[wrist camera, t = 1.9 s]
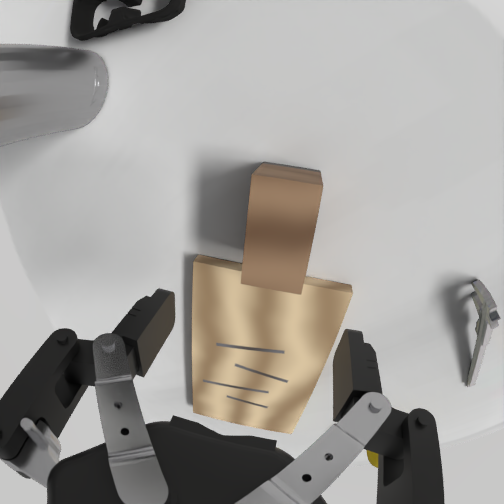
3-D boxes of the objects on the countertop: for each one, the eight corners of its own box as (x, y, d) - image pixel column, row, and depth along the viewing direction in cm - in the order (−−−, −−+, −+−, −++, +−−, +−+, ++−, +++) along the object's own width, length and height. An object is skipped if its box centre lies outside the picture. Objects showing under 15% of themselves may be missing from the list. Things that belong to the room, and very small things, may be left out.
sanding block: (303, 260, 29) (301, 294, 24) (253, 252, 30) (240, 283, 25) (320, 170, 25) (323, 185, 20) (263, 161, 26) (251, 174, 20)
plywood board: (195, 405, 44) (193, 412, 42) (198, 254, 31) (193, 261, 30) (292, 426, 42) (291, 434, 41) (351, 285, 29) (352, 293, 28)
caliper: (469, 279, 27) (493, 312, 21) (477, 276, 26) (501, 308, 21) (466, 384, 33) (476, 415, 28) (472, 382, 33) (483, 412, 27)
